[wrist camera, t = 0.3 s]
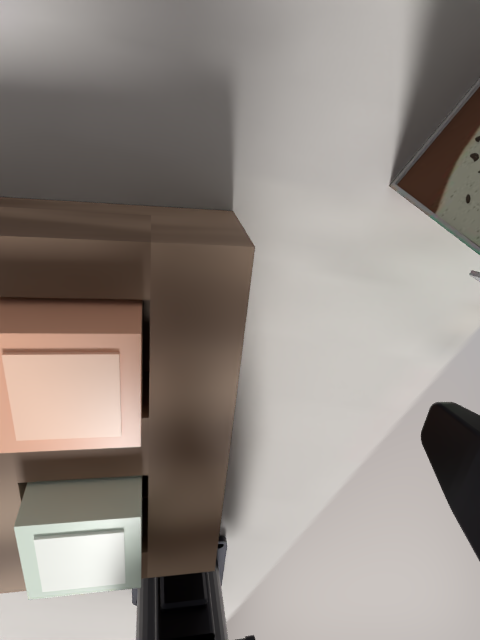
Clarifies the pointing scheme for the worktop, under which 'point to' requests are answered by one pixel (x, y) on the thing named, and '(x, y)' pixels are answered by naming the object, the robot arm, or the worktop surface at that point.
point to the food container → (450, 173)
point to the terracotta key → (70, 373)
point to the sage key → (80, 536)
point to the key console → (158, 359)
